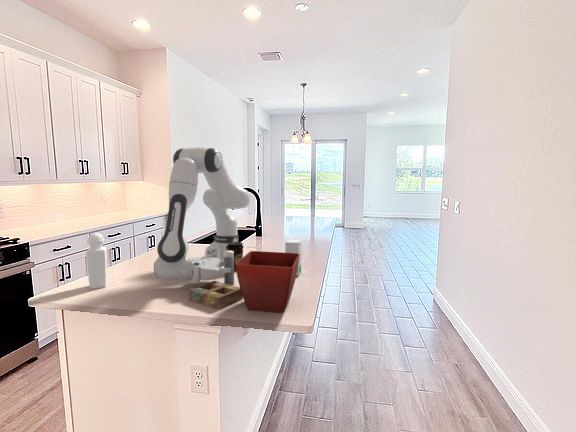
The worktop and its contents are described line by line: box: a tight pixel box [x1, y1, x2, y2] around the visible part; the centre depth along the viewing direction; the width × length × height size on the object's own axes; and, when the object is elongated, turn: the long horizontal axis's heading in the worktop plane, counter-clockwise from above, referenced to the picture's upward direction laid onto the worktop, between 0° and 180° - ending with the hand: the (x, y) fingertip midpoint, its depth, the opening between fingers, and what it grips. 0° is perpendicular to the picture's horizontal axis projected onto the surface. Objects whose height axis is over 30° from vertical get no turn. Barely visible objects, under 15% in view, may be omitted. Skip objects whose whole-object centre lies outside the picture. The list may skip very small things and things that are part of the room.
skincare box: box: [284, 239, 302, 277], centre depth 150 cm, size 8×7×16 cm
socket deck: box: [189, 280, 244, 310], centre depth 119 cm, size 15×12×4 cm
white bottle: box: [85, 232, 108, 290], centre depth 131 cm, size 6×6×22 cm
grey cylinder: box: [223, 250, 235, 286], centre depth 135 cm, size 4×4×14 cm
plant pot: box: [235, 250, 300, 313], centre depth 113 cm, size 19×19×17 cm
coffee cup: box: [226, 241, 244, 272], centre depth 157 cm, size 9×8×13 cm
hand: (230, 266), depth 135 cm, fingers open, 8 cm apart
